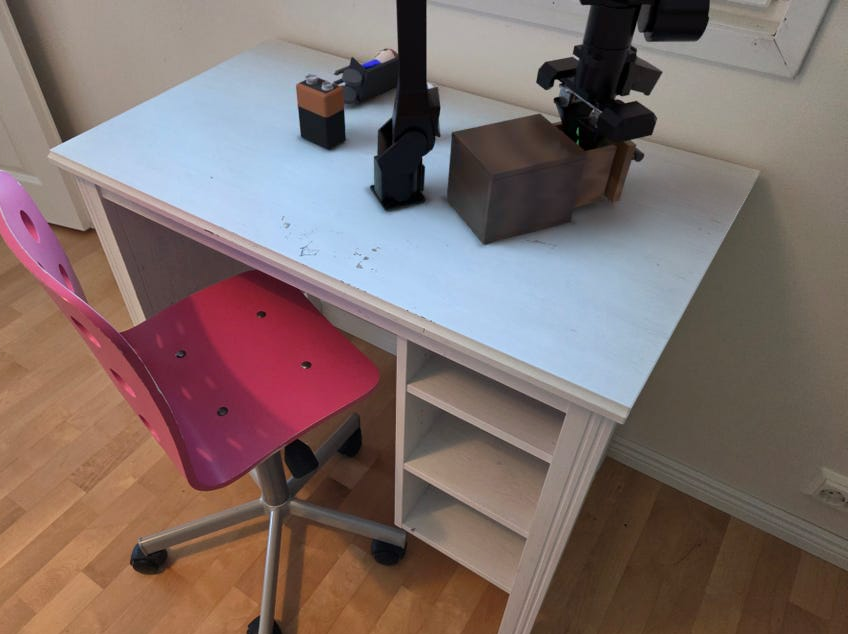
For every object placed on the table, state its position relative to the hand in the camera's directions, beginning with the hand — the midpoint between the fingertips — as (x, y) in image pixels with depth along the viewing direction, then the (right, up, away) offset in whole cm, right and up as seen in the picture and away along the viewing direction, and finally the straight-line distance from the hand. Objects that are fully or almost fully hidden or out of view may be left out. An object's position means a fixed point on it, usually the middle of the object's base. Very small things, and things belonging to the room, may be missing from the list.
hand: (578, 156), depth 91 cm
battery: (-37, +8, +17) cm, 41 cm away
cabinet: (-10, -7, +2) cm, 12 cm away
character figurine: (-29, +20, +28) cm, 45 cm away
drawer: (+1, -3, +4) cm, 5 cm away
